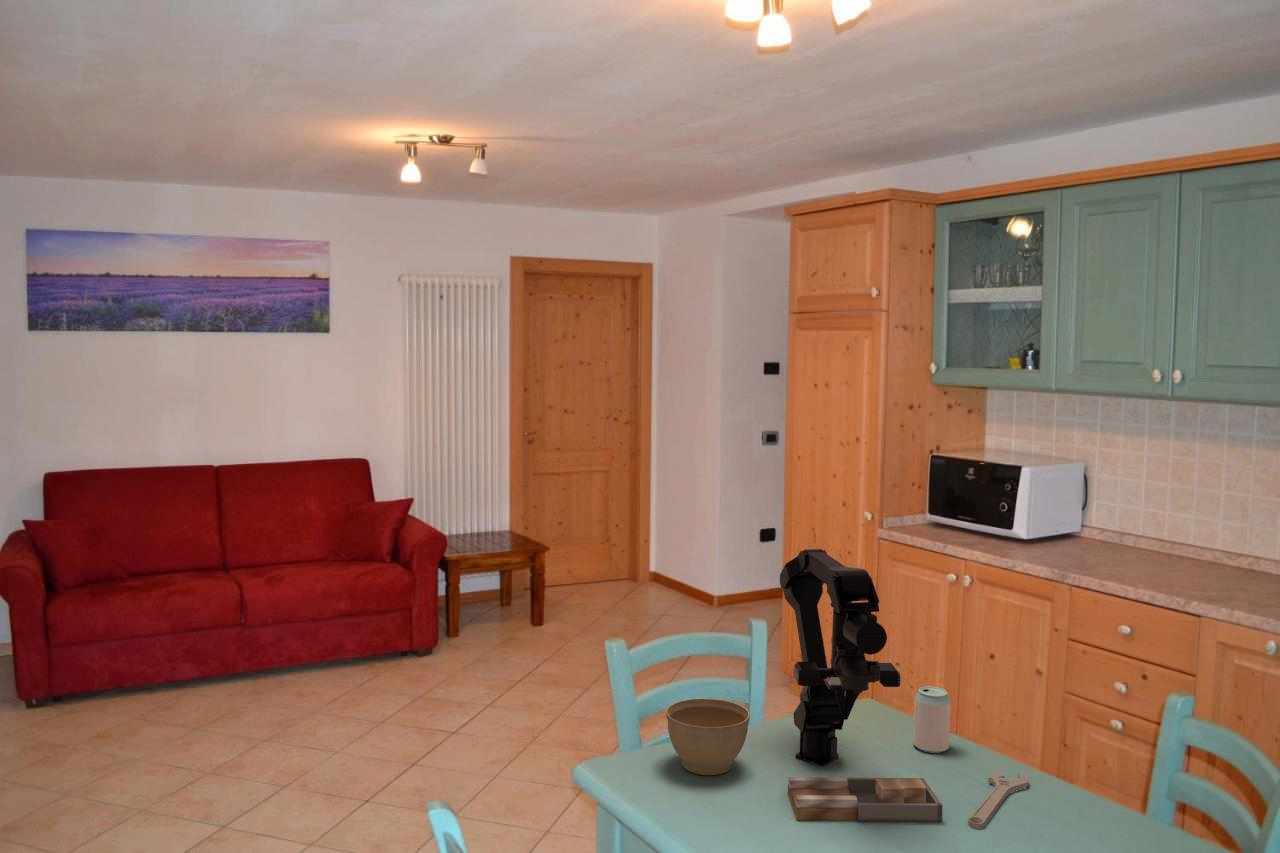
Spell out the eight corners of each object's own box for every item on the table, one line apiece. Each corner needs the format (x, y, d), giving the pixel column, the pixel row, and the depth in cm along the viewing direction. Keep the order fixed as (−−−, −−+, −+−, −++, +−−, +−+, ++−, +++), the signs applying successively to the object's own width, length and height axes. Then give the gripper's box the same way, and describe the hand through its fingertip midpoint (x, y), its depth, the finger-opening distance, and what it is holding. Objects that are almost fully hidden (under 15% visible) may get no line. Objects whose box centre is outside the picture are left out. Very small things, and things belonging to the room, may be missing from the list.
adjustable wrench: (981, 834, 169) (981, 824, 169) (945, 822, 173) (945, 812, 173) (1032, 785, 188) (1032, 775, 188) (998, 775, 192) (998, 766, 192)
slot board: (797, 820, 172) (797, 800, 172) (787, 794, 182) (788, 775, 182) (857, 820, 172) (858, 800, 172) (844, 794, 182) (845, 776, 182)
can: (914, 753, 201) (917, 695, 200) (911, 739, 208) (913, 683, 207) (951, 756, 200) (953, 697, 199) (946, 742, 207) (948, 686, 206)
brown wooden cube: (880, 810, 175) (881, 788, 175) (875, 800, 179) (875, 778, 178) (903, 810, 175) (904, 788, 175) (897, 800, 179) (897, 779, 179)
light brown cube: (902, 809, 175) (903, 787, 175) (896, 799, 179) (897, 778, 179) (925, 809, 175) (926, 788, 175) (918, 799, 179) (919, 778, 179)
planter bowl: (765, 766, 194) (766, 711, 193) (712, 792, 183) (714, 734, 182) (701, 743, 205) (702, 691, 204) (648, 766, 193) (649, 711, 193)
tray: (858, 821, 172) (858, 805, 171) (844, 793, 183) (844, 777, 182) (941, 822, 172) (942, 805, 172) (922, 793, 183) (923, 778, 183)
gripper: (805, 650, 175) (802, 736, 177) (910, 651, 175) (906, 737, 177) (794, 631, 186) (791, 712, 188) (893, 632, 187) (890, 713, 188)
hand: (844, 718), depth 185 cm, fingers closed
